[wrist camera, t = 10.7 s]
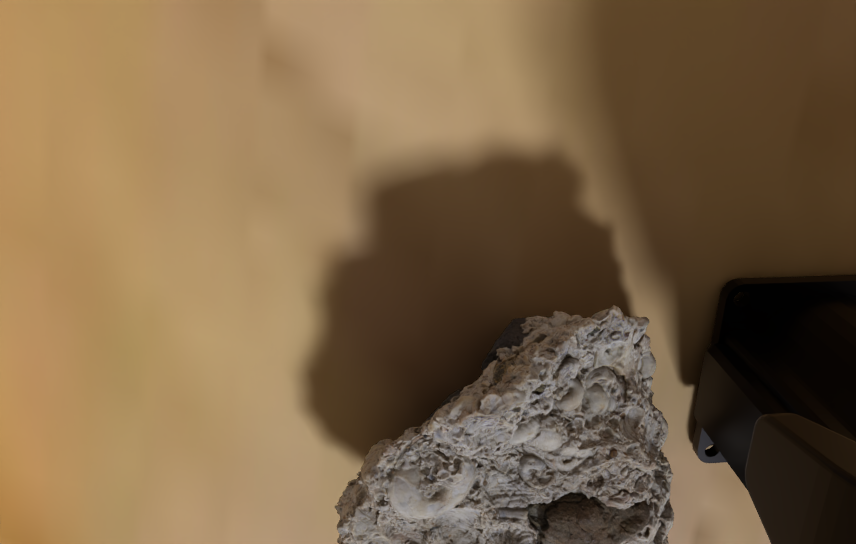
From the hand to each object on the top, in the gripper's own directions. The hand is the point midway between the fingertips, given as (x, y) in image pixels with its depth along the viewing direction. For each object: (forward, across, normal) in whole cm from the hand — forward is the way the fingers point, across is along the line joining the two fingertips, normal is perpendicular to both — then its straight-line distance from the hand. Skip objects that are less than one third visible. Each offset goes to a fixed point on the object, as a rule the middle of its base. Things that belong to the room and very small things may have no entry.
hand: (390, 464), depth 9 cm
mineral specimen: (+13, -5, +10) cm, 17 cm away
